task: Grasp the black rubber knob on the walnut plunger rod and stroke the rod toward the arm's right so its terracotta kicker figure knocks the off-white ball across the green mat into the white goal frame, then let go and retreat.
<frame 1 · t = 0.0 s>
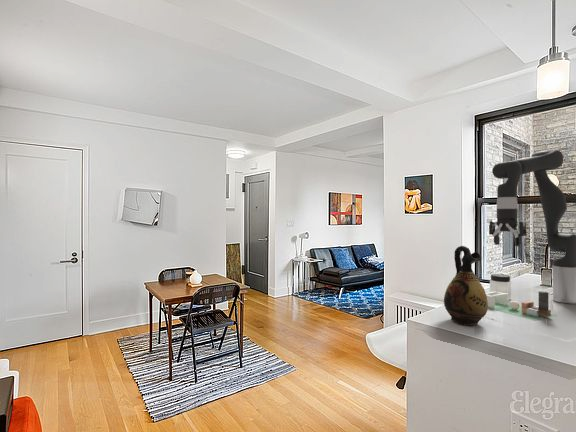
hand: (507, 245, 140), 29 cm above the counter, fingers open, 8 cm apart
pitch mat: (514, 310, 143), on the counter
ball: (514, 305, 143), point 2 cm above the counter, touching pitch mat
rod guide: (536, 315, 135), resting on pitch mat
ceramic jug: (464, 322, 129), on the counter
rod: (536, 302, 135), point 6 cm above the counter, slide at 0.0 cm
jar: (500, 299, 164), on the counter
goal: (494, 304, 151), resting on pitch mat
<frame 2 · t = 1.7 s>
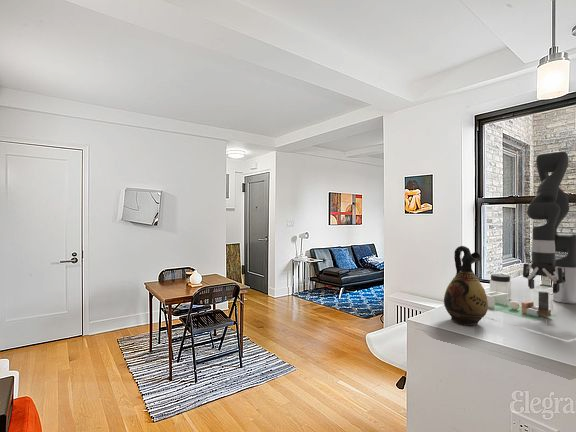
hand: (543, 290, 133), 11 cm above the counter, fingers open, 8 cm apart
nothing on the counter moved.
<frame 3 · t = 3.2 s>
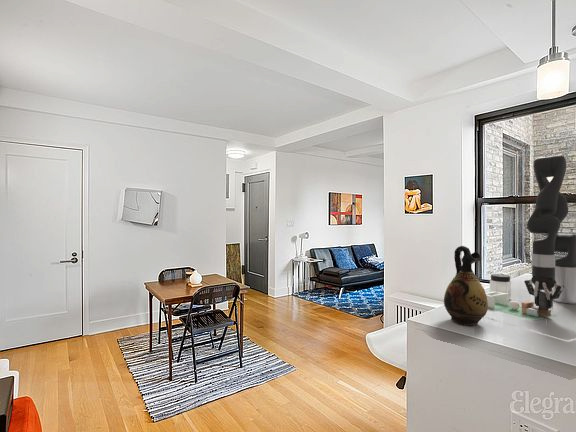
hand: (543, 307, 133), 5 cm above the counter, fingers closed on rod, 3 cm apart
rod: (536, 302, 135), point 6 cm above the counter, slide at 0.0 cm, touching gripper
everything else where it was.
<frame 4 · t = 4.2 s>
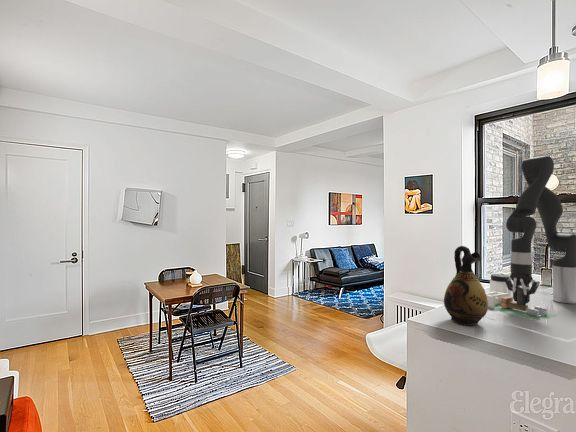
hand: (521, 301, 141), 5 cm above the counter, fingers closed on rod, 3 cm apart
ball: (494, 300, 151), point 2 cm above the counter, tilted 118°, touching pitch mat
rod: (515, 298, 143), point 6 cm above the counter, slide at 8.6 cm, touching gripper
everything else where it was.
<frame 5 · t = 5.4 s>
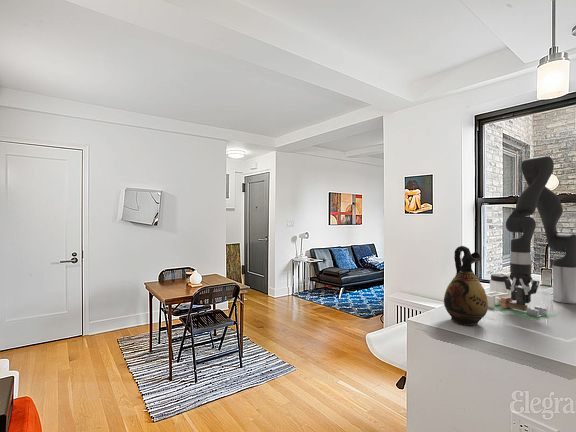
hand: (520, 301, 141), 5 cm above the counter, fingers open, 4 cm apart
ball: (496, 301, 150), point 2 cm above the counter, tilted 153°, touching pitch mat
rod: (514, 298, 143), point 6 cm above the counter, slide at 8.7 cm
everything else where it was.
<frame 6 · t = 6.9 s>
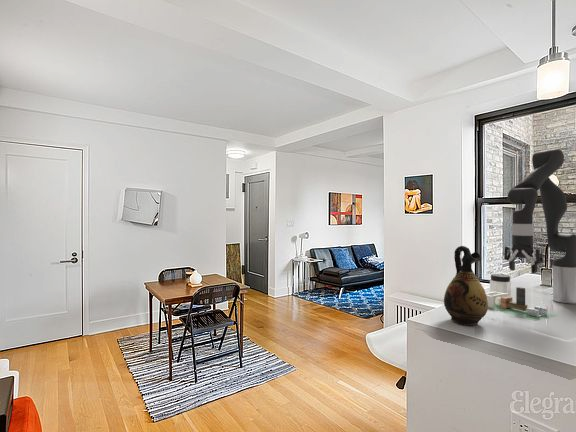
hand: (522, 271, 140), 18 cm above the counter, fingers open, 8 cm apart
ball: (499, 301, 149), point 2 cm above the counter, tilted 165°, touching pitch mat
everything else where it was.
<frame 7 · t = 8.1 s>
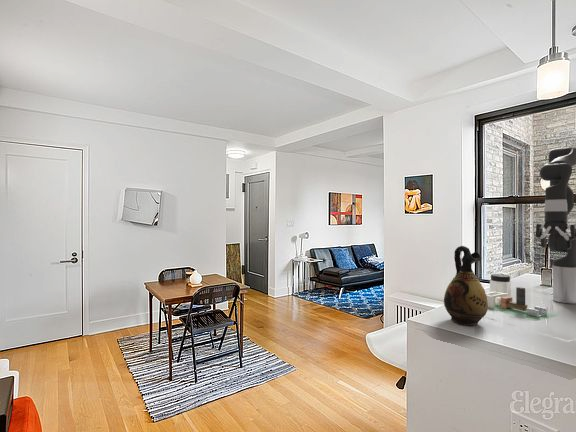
hand: (555, 248, 138), 28 cm above the counter, fingers open, 8 cm apart
ball: (499, 301, 149), point 2 cm above the counter, tilted 176°, touching pitch mat
everything else where it was.
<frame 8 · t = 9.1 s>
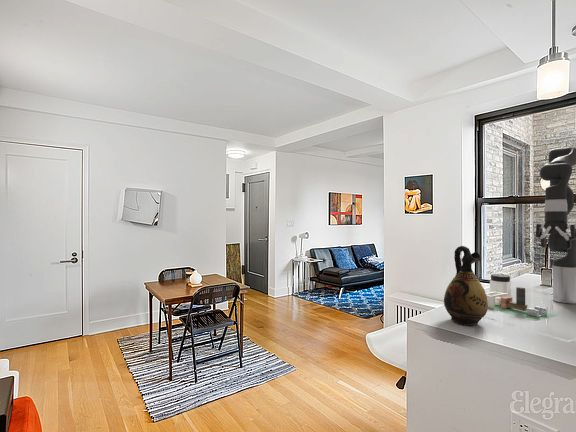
hand: (555, 248, 138), 28 cm above the counter, fingers open, 8 cm apart
at the end: ball inside the target area on the goal (1.7 cm from its centre), point 2.0 cm above the goal's base; rod slide at 8.7 cm; the gripper is holding nothing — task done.
